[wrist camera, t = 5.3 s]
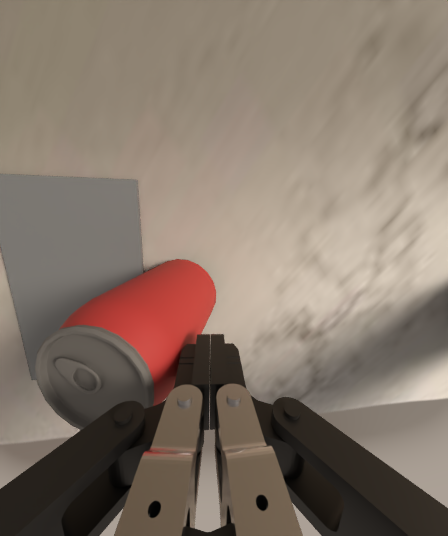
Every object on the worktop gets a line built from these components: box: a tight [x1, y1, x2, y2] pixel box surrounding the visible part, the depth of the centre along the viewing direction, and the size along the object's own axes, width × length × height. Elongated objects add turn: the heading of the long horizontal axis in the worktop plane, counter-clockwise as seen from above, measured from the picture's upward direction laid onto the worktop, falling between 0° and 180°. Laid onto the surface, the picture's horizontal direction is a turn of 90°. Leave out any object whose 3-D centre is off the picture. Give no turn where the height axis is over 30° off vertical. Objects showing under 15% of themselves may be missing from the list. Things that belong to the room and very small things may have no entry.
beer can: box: [35, 259, 216, 430], centre depth 15 cm, size 7×7×12 cm
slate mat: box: [0, 174, 144, 380], centre depth 20 cm, size 12×20×1 cm, turn 178°
